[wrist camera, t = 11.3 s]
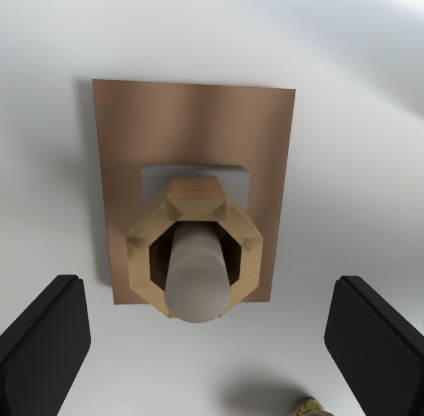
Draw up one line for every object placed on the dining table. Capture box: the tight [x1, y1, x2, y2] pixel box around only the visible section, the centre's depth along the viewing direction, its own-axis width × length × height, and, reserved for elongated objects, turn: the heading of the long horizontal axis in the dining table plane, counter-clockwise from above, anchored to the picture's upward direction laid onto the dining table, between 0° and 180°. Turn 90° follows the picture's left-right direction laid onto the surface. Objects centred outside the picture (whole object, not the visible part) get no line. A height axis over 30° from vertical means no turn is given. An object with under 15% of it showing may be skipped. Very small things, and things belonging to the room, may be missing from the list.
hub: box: [126, 176, 263, 319], centre depth 15 cm, size 6×6×6 cm
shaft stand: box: [92, 79, 296, 323], centre depth 16 cm, size 14×18×13 cm
